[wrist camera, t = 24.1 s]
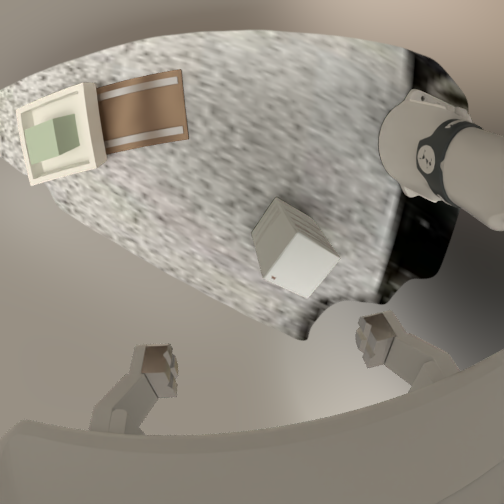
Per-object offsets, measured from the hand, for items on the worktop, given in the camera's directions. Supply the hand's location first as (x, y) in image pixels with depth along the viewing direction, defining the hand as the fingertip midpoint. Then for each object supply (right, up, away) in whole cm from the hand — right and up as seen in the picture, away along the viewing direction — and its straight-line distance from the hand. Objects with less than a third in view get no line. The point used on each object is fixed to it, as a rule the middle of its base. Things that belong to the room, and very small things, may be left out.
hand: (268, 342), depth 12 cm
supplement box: (+4, +8, +35) cm, 36 cm away
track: (-21, +22, +23) cm, 38 cm away
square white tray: (-26, +21, +21) cm, 39 cm away
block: (-25, +19, +19) cm, 37 cm away
